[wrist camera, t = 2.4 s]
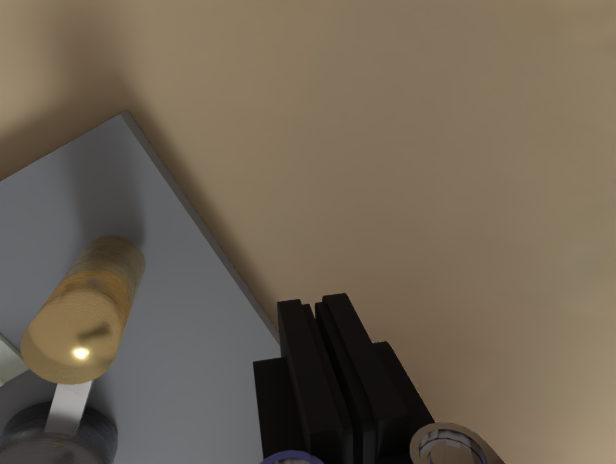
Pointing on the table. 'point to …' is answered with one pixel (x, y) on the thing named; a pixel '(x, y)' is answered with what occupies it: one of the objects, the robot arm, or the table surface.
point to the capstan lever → (76, 357)
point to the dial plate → (136, 301)
